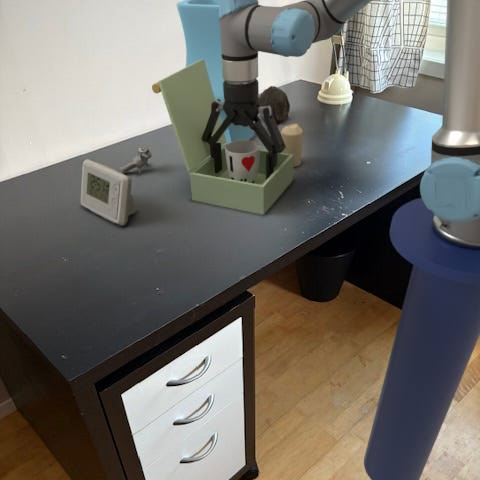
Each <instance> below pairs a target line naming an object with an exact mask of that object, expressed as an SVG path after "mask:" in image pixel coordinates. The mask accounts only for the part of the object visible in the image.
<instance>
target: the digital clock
mask: <svg viewBox="0 0 480 480" xmlns="http://www.w3.org/2000/svg"><path fill="white" fill-rule="evenodd" d="M81 169H82V171H81V186H80V187H81V188H80V204H81V206H83V207H84V208H86V209H88V210H90V212H92V213H94V214H96V215H97V216H99V217H101V218H104V219H105V220H108V221H109V222H111V223H113V224H117V225H119V226H121V227H124V226H125V225H127V223H128V220H129V216H131V215H134V214H135V213H136V206H135V200H134V196H133V194H132V178H131V177H130V176H128V175H126V174H124V173H123V172H121V171H119V170H117V169H115V168H112V167H110V166H107V165H105V164H103V163H102V162H101V163H100V162H98V161H94V160H91V159H89V158H88V159H85V160H84V161H83V163H82V168H81Z"/></svg>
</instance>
